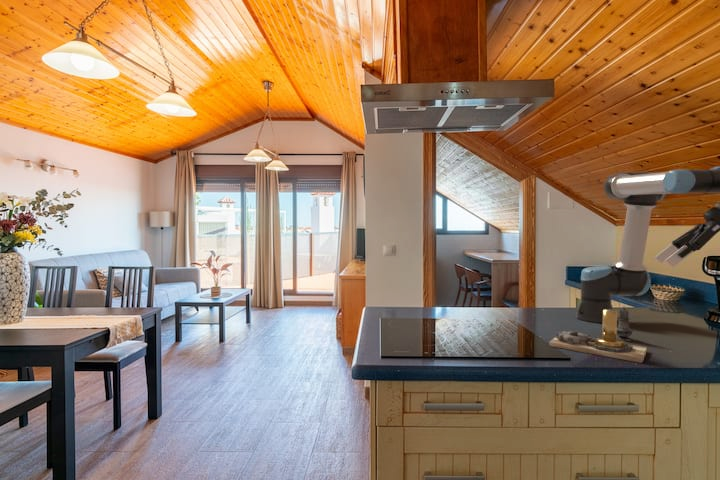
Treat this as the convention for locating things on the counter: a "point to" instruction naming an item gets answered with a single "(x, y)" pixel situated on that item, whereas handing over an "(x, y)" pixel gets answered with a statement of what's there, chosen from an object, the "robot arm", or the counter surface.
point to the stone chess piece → (624, 326)
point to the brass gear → (609, 331)
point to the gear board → (596, 346)
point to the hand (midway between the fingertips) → (663, 261)
